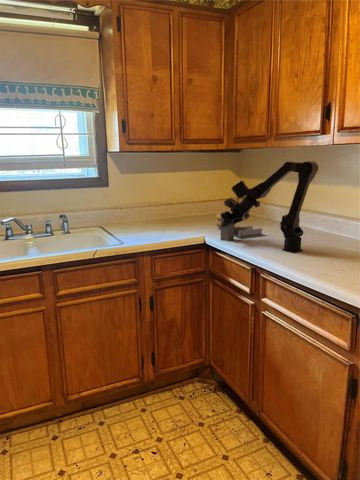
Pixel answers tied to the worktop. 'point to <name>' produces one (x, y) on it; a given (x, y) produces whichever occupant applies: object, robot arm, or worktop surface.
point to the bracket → (247, 232)
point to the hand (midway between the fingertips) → (225, 226)
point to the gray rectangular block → (227, 231)
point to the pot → (219, 220)
